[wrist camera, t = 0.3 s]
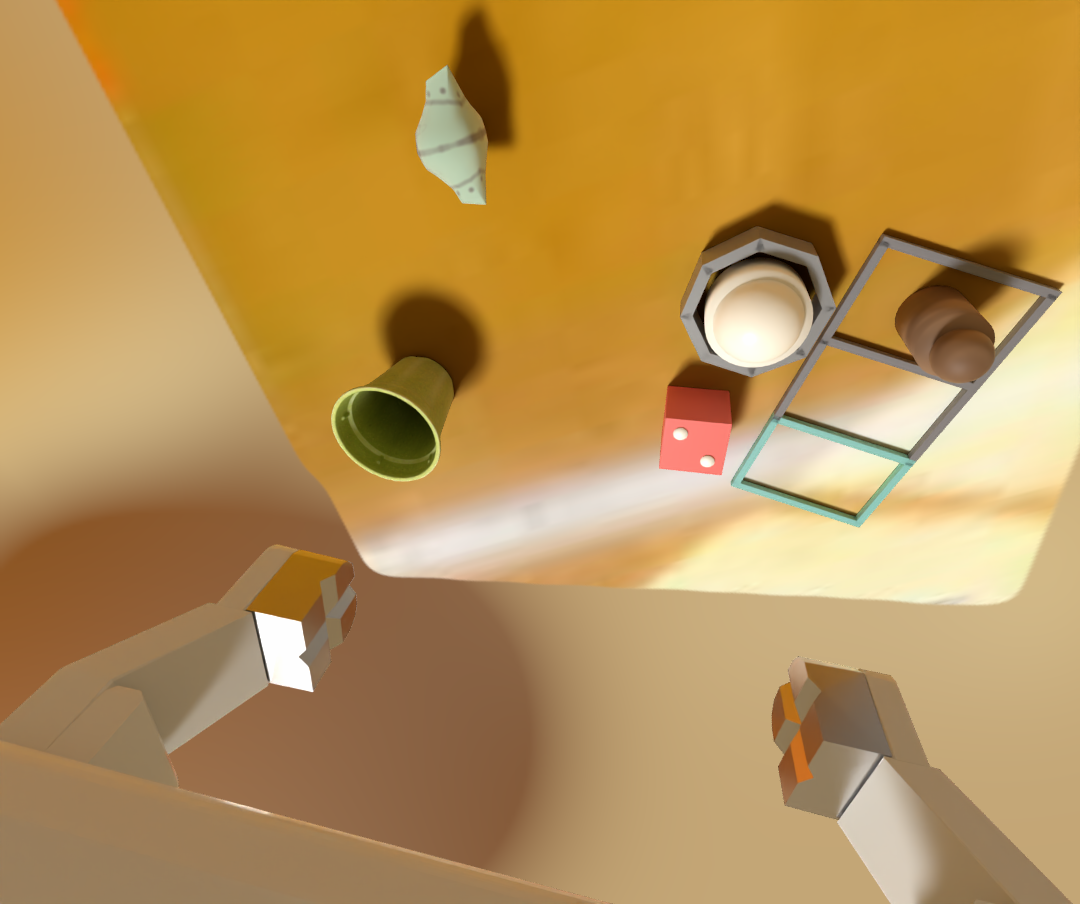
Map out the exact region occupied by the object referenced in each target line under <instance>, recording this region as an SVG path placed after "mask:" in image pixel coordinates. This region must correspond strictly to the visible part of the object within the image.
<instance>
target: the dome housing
mask: <svg viewBox="0 0 1080 904" xmlns="http://www.w3.org/2000/svg"><path fill="white" fill-rule="evenodd" d="M759 251H760V252H763V253H766V254H770V255H773V256H776V257H779V258H782V259H785V260H788V261H792V262H795V263H798V264H801V265H804V266H806V267H807V270H808V273H809V276H810V279H811V281H812V284H813V287H814V290H815V293H816V294H815V296H814V297H813V299H812V301H811V303H812V307H813V321H812V326H811V329H810V331H809V334H808V335H807V337H806V339H805V340H804V342H803V343H802V344H801V346H800V347H799V348H798V349H797V350H796V351H795V352H794V353H792V354H791V355H790V356H788V357H787V358H785V359H783V360H781V361H779V362H777V363H774V364H771V365H768V366H763V367H742V366H738V365H734V364H732V363H729V362H727V361H726V360H724V359H722V358H721V357H720V356H718V355H717V354H716V353H715V352H714V350H713V349H712V348H711V346H710V344H709V343H708V340H707V337H706V333H705V327H704V325H703V323H702V320H701V318H700V316H699V314H698V312H697V310H696V307H697V305H698V303H699V300H700V298H701V296H702V294H703V291H704V289H705V287H706V284H707V282H708V280H709V278H710V275H711V273H714V272H716V271H718V270H720V269H722V268H724V267H727V266H729V265H731V264H733V263H735V262H738V261H740V260H742V259H744V258H746V257H748V256H751V255H753V254H755V253H757V252H759ZM835 309H836V307H835V304H834V301H833V298H832V295H831V292H830V289H829V286H828V283H827V280H826V277H825V274H824V271H823V268H822V266H821V263H820V260H819V256H818V254H817V252H816V250H815V248H814V246H813V244H812V243H810V242H807V241H803V240H800V239H797V238H794V237H791V236H788V235H784V234H781V233H778V232H775V231H772V230H769V229H765V228H762V227H759V226H755V227H753V228H751V229H749V230H747V231H745V232H743V233H741V234H739V235H737V236H735V237H733V238H731V239H728V240H726V241H724V242H722V243H720V244H718V245H716V246H714V247H712V248H710V249H708V250H706V251H704V252H702V253H701V256H700V258H699V260H698V263H697V265H696V267H695V270H694V272H693V275H692V277H691V279H690V282H689V284H688V286H687V289H686V291H685V293H684V296H683V298H682V301H681V310H680V317H681V320H682V322H683V324H684V326H685V328H686V330H687V332H688V334H689V336H690V338H691V340H692V342H693V345H694V347H695V349H696V351H697V353H698V355H699V357H700V359H701V361H703V362H706V363H709V364H712V365H715V366H718V367H721V368H724V369H728V370H731V371H734V372H737V373H740V374H743V375H746V376H749V377H753V376H756V375H759V374H762V373H764V372H767V371H770V370H773V369H775V368H778V367H781V366H783V365H786V364H789V363H792V362H794V361H797V360H800V359H803V358H805V357H807V355H808V353H809V352H810V350H811V348H812V347H813V345H814V343H815V342H816V340H817V339H818V337H819V335H820V334H821V332H822V330H823V329H824V327H825V325H826V324H827V322H828V321H829V319H830V317H831V316H832V314H833V312H834V311H835Z"/></svg>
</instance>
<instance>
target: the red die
mask: <svg viewBox="0 0 1080 904" xmlns="http://www.w3.org/2000/svg"><path fill="white" fill-rule="evenodd" d="M731 427H732V418H731V406H730V395H729V391H723V390H712V389H700V388H688V387H676V386H668V389H667V397H666V405H665V413H664V421H663V429H662V438H661V451H660V463H659V468H660V469H669V470H678V471H688V472H697V473H706V474H715V475H722V470H723V465H724V460H725V456H726V451H727V446H728V441H729V437H730V432H731Z"/></svg>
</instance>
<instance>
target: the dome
mask: <svg viewBox="0 0 1080 904" xmlns="http://www.w3.org/2000/svg"><path fill="white" fill-rule="evenodd" d="M812 321H813V307H812V303H811V300H810V297H809V295H808V292H807V289H806V287H805V284H804V282H803V280H802V278H801V277H800V275H799V274H798V273H797V272H796V271H795V270H794V269H793V268H792V267H791V266H789V265H788V264H786V263H784V262H782V261H779V260H776V259H772V258H752V259H747V260H744V261H741V262H738V263H736V264H734V265H732V266H730V267H729V268H728V269H726V270H725V271H723V272H722V273H721V274H720V275H719V276H718V277H717V278H716V279H715V281H714V282H713V284H712V285H711V287H710V289H709V290H708V293H707V296H706V299H705V304H704V322H705V333H706V337H707V340H708V343H709V344H710V346H711V348H712V349H713V350H714V352H715V353H716V354H717V355H718V356H720V357H721V358H722V359H724V360H726V361H727V362H729V363H732V364H734V365H738V366H742V367H763V366H768V365H771V364H774V363H777V362H779V361H781V360H783V359H785V358H787V357H788V356H790V355H791V354H792V353H794V352H795V351H796V350H797V349H798V348H799V347H800V346H801V344H802V343H803V342H804V340H805V339H806V337H807V335H808V334H809V331H810V329H811V326H812Z"/></svg>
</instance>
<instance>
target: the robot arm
mask: <svg viewBox="0 0 1080 904" xmlns="http://www.w3.org/2000/svg"><path fill="white" fill-rule="evenodd" d="M353 578H354V569H353V564H352V563H351V562H349V561H346V560H342V559H337V558H333V557H329V556H325V555H321V554H317V553H312V552H308V551H304V550H298V549H294V548H290V547H286V546H281V545H277V544H275V545H273V546H271V547H269V548H268V549H266V550H265V551H264V552H263V554H262V555H261V556H260V557H259V558H258V559H257V560H256V561H255V562H254V563H253V565H252V566H251V567H250V568H249V569H248V570H247V571H246V572H245V573H244V575H242V577H241V578H240V579H239V580H238V581H237V582H236V583H235V584H234V585H233V586H232V588H231V589H230V590H229V591H228V592H227V593H226V594H225V595H224V596H223V597H222V599H221V600H220V601H219V602H218V603H217V604H213V603H207V604H205V605H202V606H200V607H198V608H196V609H193V610H191V611H189V612H187V613H185V614H182V615H180V616H178V617H175V618H173V619H171V620H169V621H166V622H164V623H162V624H160V625H157V626H155V627H153V628H151V629H148V630H146V631H144V632H141V633H139V634H137V635H135V636H132V637H130V638H128V639H126V640H124V641H121V642H119V643H117V644H114V645H112V646H110V647H108V648H106V649H103V650H101V651H99V652H96V653H94V654H92V655H90V656H87V657H85V658H83V659H81V660H78V661H76V662H74V663H71V664H69V665H67V666H65V667H62V668H61V669H59V670H58V671H57V672H56V673H55V674H54V675H53V676H52V677H51V678H50V679H49V680H48V681H47V682H45V683H44V684H43V685H42V686H41V687H40V688H39V689H38V690H37V691H36V692H35V693H33V694H32V695H31V697H29V698H28V699H27V700H26V701H25V702H24V703H23V704H22V705H20V706H19V708H17V709H16V710H15V711H14V712H13V713H12V714H11V715H10V716H9V717H8V718H6V719H5V720H4V721H3V722H2V723H1V724H0V904H611V903H607V902H604V901H600V900H596V899H592V898H589V897H585V896H581V895H578V894H574V893H570V892H566V891H563V890H559V889H555V888H551V887H548V886H544V885H540V884H537V883H533V882H529V881H526V880H522V879H518V878H514V877H511V876H507V875H503V874H499V873H496V872H492V871H488V870H484V869H480V868H477V867H473V866H469V865H466V864H462V863H458V862H454V861H451V860H447V859H443V858H439V857H436V856H432V855H428V854H424V853H421V852H417V851H413V850H409V849H406V848H402V847H398V846H394V845H390V844H387V843H383V842H379V841H376V840H372V839H368V838H365V837H361V836H357V835H353V834H350V833H346V832H342V831H338V830H335V829H330V828H327V827H323V826H320V825H315V824H312V823H308V822H305V821H301V820H297V819H293V818H289V817H286V816H282V815H278V814H275V813H271V812H267V811H263V810H260V809H256V808H252V807H248V806H245V805H241V804H237V803H233V802H230V801H226V800H222V799H218V798H215V797H211V796H207V795H204V794H200V793H196V792H192V791H189V790H185V789H181V788H178V777H177V775H176V772H175V770H174V767H173V765H172V763H171V760H170V758H169V755H168V754H170V753H171V752H172V751H174V750H175V749H177V748H178V747H180V746H181V745H183V744H184V743H186V742H187V741H188V740H190V739H191V738H193V737H194V736H195V735H197V734H198V733H200V732H201V731H203V730H204V729H206V728H207V727H209V726H210V725H212V724H213V723H215V722H216V721H217V720H219V719H220V718H222V717H223V716H225V715H226V714H228V713H229V712H230V711H232V710H233V709H235V708H236V707H238V706H239V705H241V704H242V703H244V702H245V701H246V700H248V699H249V698H251V697H252V696H254V695H255V694H256V693H258V692H259V691H261V690H262V689H264V688H265V687H267V686H268V683H273V684H278V685H283V686H288V687H292V688H297V689H302V690H307V691H311V692H313V691H314V689H315V688H316V686H317V684H318V683H319V681H320V680H321V678H322V676H323V675H324V673H325V671H326V670H327V668H328V666H329V665H330V663H331V655H330V650H331V649H333V648H334V647H336V646H338V645H340V644H341V643H343V642H344V640H345V638H346V637H347V635H348V633H349V631H350V629H351V626H352V624H353V621H354V618H355V615H356V607H357V598H356V593H355V592H354V591H353V589H352V588H351V587H350V586H349V584H350V583H351V581H352V580H353ZM788 673H789V678H790V682H788V683H786V684H785V685H782V686H780V687H779V690H778V692H777V694H776V697H775V699H774V704H773V710H772V731H773V738H774V742H775V743H776V745H777V746H778V747H779V749H780V750H781V751H782V752H783V754H784V756H783V758H782V760H781V762H780V764H779V766H778V769H779V775H780V780H781V787H782V792H783V798H784V804H785V806H788V807H792V808H796V809H800V810H803V811H807V812H811V813H814V814H818V815H822V816H826V817H829V818H833V819H837V820H839V821H838V822H837V823H838V824H839V826H840V827H841V829H842V830H843V832H844V833H845V835H846V836H847V838H848V840H849V841H850V843H851V844H852V846H853V847H854V848H855V850H856V852H857V853H858V855H859V856H860V858H861V859H862V861H863V862H864V864H865V865H866V867H867V868H868V870H869V871H870V873H871V874H872V876H873V877H874V879H875V881H876V882H877V884H878V885H879V886H880V888H881V890H882V891H883V893H884V894H885V896H886V897H887V899H888V900H889V902H890V903H891V904H1072V903H1071V902H1070V901H1069V900H1068V899H1067V898H1066V897H1065V896H1064V895H1063V894H1062V893H1061V892H1060V891H1059V890H1058V888H1057V887H1055V885H1054V884H1053V883H1052V882H1051V881H1050V880H1049V879H1048V878H1047V877H1046V876H1045V875H1044V874H1043V873H1042V872H1041V871H1040V870H1039V869H1038V868H1037V867H1036V866H1035V865H1034V864H1033V863H1032V862H1031V861H1030V860H1029V859H1028V858H1027V857H1026V856H1025V855H1024V854H1023V853H1022V852H1021V851H1020V850H1019V849H1018V848H1017V847H1016V846H1015V845H1014V844H1013V843H1012V842H1011V841H1010V840H1009V839H1008V838H1007V837H1006V836H1005V835H1004V834H1003V833H1002V832H1001V831H1000V830H999V829H998V828H997V827H996V826H995V825H994V824H993V823H992V822H991V821H990V820H989V819H988V818H987V817H986V815H985V814H984V813H983V812H981V810H980V809H979V808H978V807H977V806H975V804H974V803H973V802H972V801H971V800H970V799H969V798H968V797H967V796H966V795H965V794H964V793H963V792H962V791H961V790H960V789H959V788H958V787H957V786H956V785H955V784H954V783H953V782H952V781H951V780H950V779H949V778H948V777H947V776H946V775H945V774H944V773H943V772H942V771H941V770H940V769H937V768H933V767H930V765H929V763H928V761H927V758H926V755H925V753H924V751H923V748H922V746H921V743H920V740H919V738H918V736H917V733H916V731H915V728H914V726H913V723H912V721H911V718H910V716H909V713H908V711H907V708H906V706H905V703H904V701H903V698H902V696H901V693H900V691H899V688H898V686H897V683H896V681H895V680H894V679H893V678H892V677H891V675H887V674H882V673H877V672H872V671H867V670H862V669H856V668H853V667H848V666H843V665H838V664H833V663H828V662H824V661H819V660H814V659H809V658H804V657H799V656H798V657H797V658H795V659H794V660H793V661H792V663H791V665H790V667H789V669H788Z"/></svg>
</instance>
